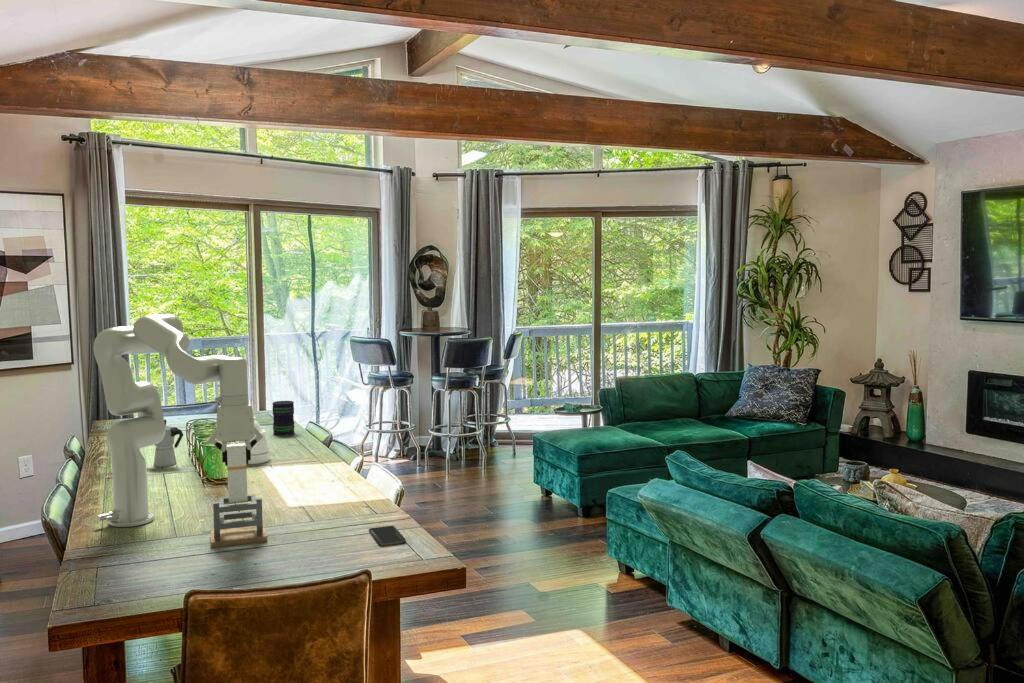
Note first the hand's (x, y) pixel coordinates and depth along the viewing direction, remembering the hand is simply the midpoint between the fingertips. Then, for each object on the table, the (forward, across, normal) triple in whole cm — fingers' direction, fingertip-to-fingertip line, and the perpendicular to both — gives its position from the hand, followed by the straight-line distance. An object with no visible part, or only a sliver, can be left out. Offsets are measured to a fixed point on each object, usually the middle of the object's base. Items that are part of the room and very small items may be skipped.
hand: (236, 463), depth 232 cm
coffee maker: (+22, -24, +105) cm, 110 cm away
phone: (+23, +40, -14) cm, 48 cm away
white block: (+11, 0, 0) cm, 11 cm away
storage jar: (+22, +25, +153) cm, 157 cm away
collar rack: (+22, 0, 0) cm, 22 cm away
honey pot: (+22, +9, +101) cm, 104 cm away
